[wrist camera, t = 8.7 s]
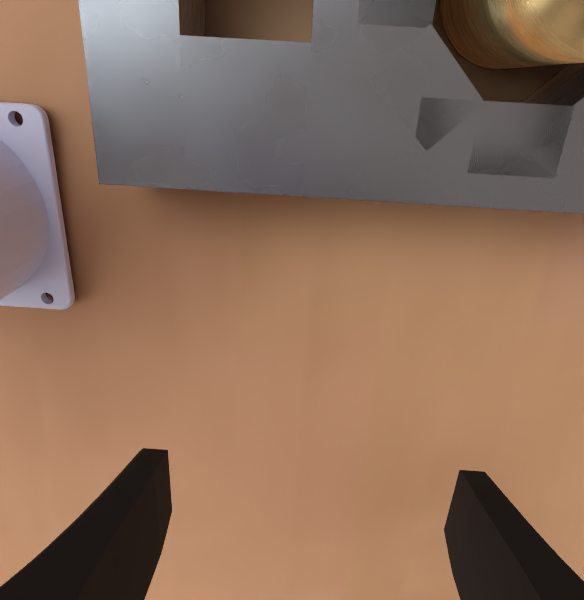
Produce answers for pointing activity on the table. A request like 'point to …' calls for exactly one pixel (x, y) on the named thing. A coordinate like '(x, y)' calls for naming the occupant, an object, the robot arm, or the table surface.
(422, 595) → the table surface
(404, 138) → the grey flat block
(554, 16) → the brass fitting
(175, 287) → the table surface
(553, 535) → the table surface
